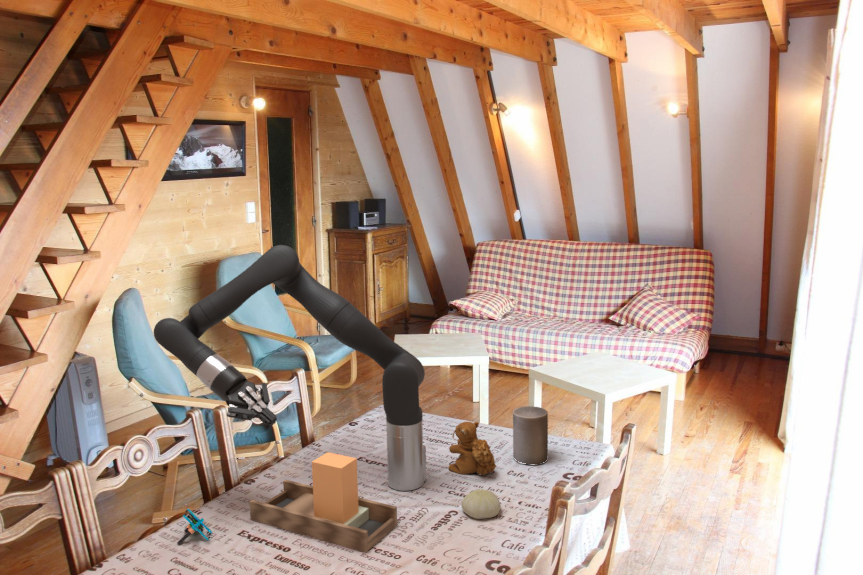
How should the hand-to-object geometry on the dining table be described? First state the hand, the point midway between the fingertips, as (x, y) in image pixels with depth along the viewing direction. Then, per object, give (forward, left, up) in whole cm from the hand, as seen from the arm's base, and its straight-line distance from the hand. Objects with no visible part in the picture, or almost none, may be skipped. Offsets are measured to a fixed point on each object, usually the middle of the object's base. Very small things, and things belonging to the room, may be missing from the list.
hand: (274, 422), depth 164 cm
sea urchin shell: (-31, +38, -22) cm, 53 cm away
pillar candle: (-64, +28, -22) cm, 73 cm away
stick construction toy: (+20, -4, -22) cm, 30 cm away
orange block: (-4, +17, -19) cm, 26 cm away
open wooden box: (-3, +13, -22) cm, 26 cm away
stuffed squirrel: (-48, +22, -22) cm, 57 cm away
